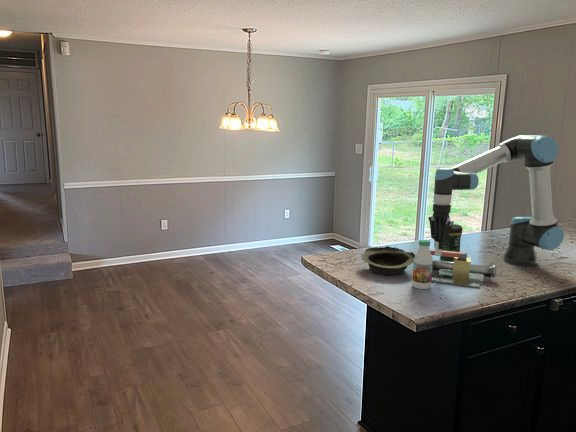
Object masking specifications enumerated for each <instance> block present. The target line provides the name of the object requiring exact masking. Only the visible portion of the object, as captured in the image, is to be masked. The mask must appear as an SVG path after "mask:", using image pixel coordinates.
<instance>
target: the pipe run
mask: <svg viewBox="0 0 576 432" xmlns="http://www.w3.org/2000/svg"><path fill="white" fill-rule="evenodd" d="M432 260H433V264H432V279H431V283H436V284H442V285H451V286H458V287H466V288H473V289H481V279H480V277H481V275H483V277H482V280H483V281H482V282H484V283H489V284H491V282H492V278H493V279H495V278H496V274H497V265H496V264H493V265H492V266H489V265H482V264H481V265H480V264H471V260H472V259H471V257H467V259H466V260H462V259H458V258H456V257H454V262H448V261H443V260H438V259H432Z"/></svg>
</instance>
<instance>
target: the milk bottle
mask: <svg viewBox="0 0 576 432" xmlns="http://www.w3.org/2000/svg"><path fill="white" fill-rule="evenodd" d="M430 247H431V241H430V240H428V239H420V240H418V250H417V251H416V254H414V255H415V258H414V263H412V264H413V266H412V278H411V279H412V280H411V285H412V287H413V288H415V289H419V290H429V289H431V287H432V282H431V279H432V264H433V260H434V259H433V255H431V253H430Z"/></svg>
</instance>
